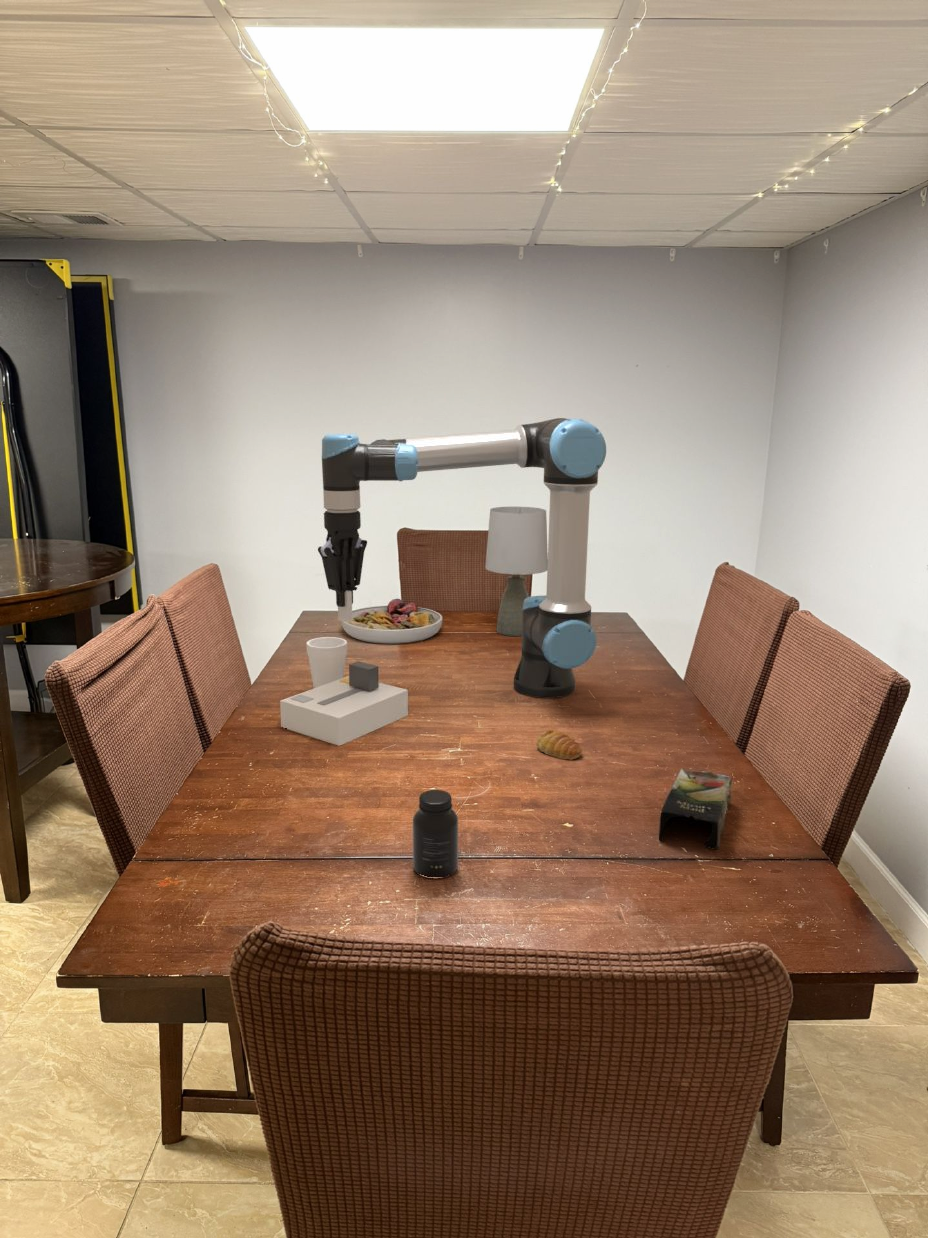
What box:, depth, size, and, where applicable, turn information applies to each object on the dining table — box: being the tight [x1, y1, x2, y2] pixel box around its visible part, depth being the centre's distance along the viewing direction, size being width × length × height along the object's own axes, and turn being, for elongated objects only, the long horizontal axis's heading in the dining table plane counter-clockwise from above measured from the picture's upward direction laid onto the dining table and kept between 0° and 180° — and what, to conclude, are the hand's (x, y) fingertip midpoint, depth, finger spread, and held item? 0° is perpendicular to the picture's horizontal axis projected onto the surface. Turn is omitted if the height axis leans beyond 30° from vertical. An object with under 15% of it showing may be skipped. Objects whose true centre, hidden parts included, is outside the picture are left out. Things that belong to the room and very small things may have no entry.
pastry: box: [536, 729, 583, 761], centre depth 176 cm, size 9×7×4 cm
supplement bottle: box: [412, 789, 459, 878], centre depth 131 cm, size 7×7×12 cm
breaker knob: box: [348, 660, 380, 691], centre depth 194 cm, size 6×3×5 cm, turn 54°
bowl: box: [341, 598, 443, 645], centre depth 263 cm, size 30×30×8 cm
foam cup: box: [305, 636, 348, 689], centre depth 206 cm, size 10×9×13 cm
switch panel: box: [279, 675, 409, 747], centre depth 191 cm, size 17×22×6 cm
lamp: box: [484, 506, 548, 637], centre depth 261 cm, size 19×19×37 cm
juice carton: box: [658, 768, 733, 850], centre depth 149 cm, size 20×10×6 cm, turn 158°
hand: (345, 620), depth 188 cm, fingers closed
